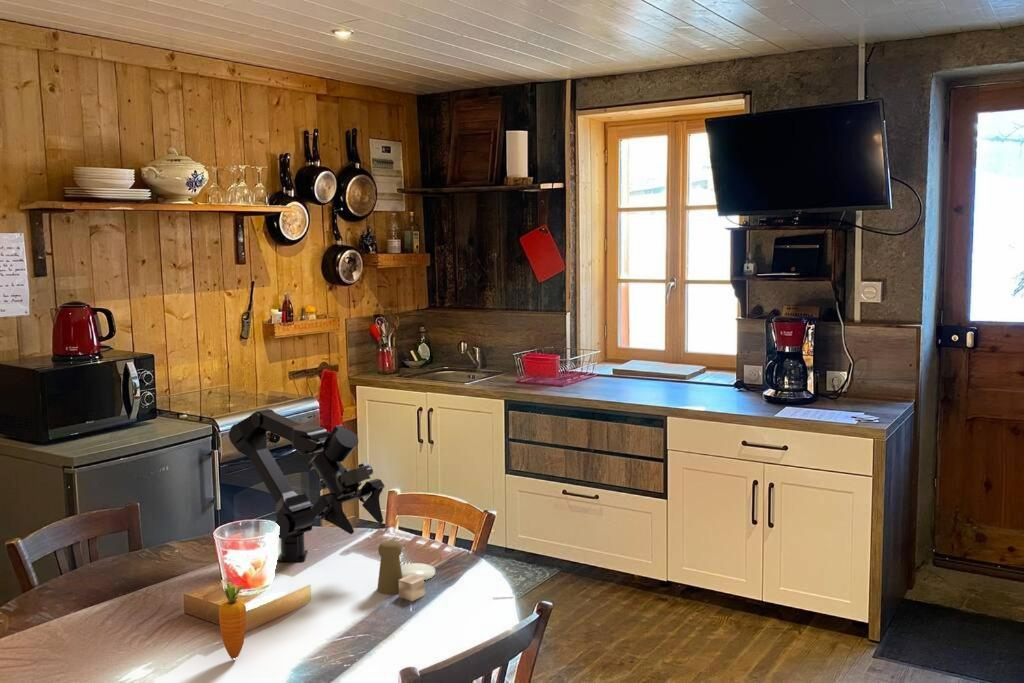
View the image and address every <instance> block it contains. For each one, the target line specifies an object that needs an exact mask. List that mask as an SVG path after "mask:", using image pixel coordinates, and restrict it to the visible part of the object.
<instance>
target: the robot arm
mask: <svg viewBox="0 0 1024 683" xmlns="http://www.w3.org/2000/svg"><path fill="white" fill-rule="evenodd" d="M267 433H272V434H274V435H276V436H278V437H280V438H282V439H285V440H287V441H288V442H290V443H291V446H292V448H293V450H296V451H297V452H298V453H299V454H301V455H302V456H307V455H311V454H315V453H316V454H315V455H314V456H313V457H310V458H309V462H308V464H307V469H308V471H311V470H316V472H317V473H318V474H319V477H320V478H321V480H322V481H323V484H322V486H321V487H322V488H323V490H327V489H328V491H329V492H328V493H324V494H322V495H320V496H319V497H318V498H317V499H316V500H315V501H314V503H313V504H312V502H310V500H309V498H308V496H307V494H306V493H304V492H303V493H299V494H298V493H296V492H295V491H294V490H293V488H292V486H291V485H290V483H289V481H288V479H287V478H286V476H285V475H284V473H283V471H282V470H281V468H280V466H279V465H278V464H277V462H276V460H275V458H274V457H273V455H272V453H271V452H270V450H269V448H268V445H267V444H268V434H267ZM228 439H229V441H230V443H231V444H232V445H233V446H234V448H235V450H236V451H238V452H239V453H240V454H242V455H244V456H247V458H249V460H250V461H251V463H252V465H253V466H254V468H255V469H256V471H257V473H258V474H259V478H261V480H262V482H263V483H264V485H265V486H266V488H267V490H268V492H269V493H270V495H271V497H272V499H273V500H274V502H275V505H276V506H275V517H276V519H277V520H276V521H275V522H274V523H277V524H278V525H279V526H280V535H279V539H280V554H279V556H278V558H277V562H278V563H285V562H305V561H306V558H307V556H308V553H309V551H308V549H305V547H306V546H305V533H306V532H311V531H312V530H313V525H314V522H315V519H316V520H317V519H319V518H320V520H321V521H326V522H329V524H332V525H335V526H336V527H338V529H339V528H340V529H341V530H343V531H344V532H346V533H348V534H350V535H353V534H354V533H355V531H354V528H353V526H352V524H351V522H350V520H349V519H348V517H347V516H346V514H345V512H344V510H343V504H345V503H348V502H351V501H354V500H359V502H362V504H361V505H362V507H363V508H364V509H365V510H366V512H368V514H369V515H370V516H372V518H373V519H374V520H375V521H376V522H377V523H378V524H382V523H383V522H384V518H383V513H382V509H381V505H380V496H381V494H382V493H383V490H384V488H385V484H384V483H383V481H382V479H379V478H374V479H371V475H373V474H374V470H373V467H372V465H371V464H370V463H369V461H364V462H361V463H359V464H358V467H355V468H353V469H352V468H350V467H346V468H345V466H344V465H343V463H342V462H344V461H346V460H347V459H348V458H349V456H350V455H351V453H352V452H353V451H354V450H355V449H356V448H357V446H358V445H359V437H358V435H357V434H356V433H354V432H353V431H351V430H350V429H348V428H344V426H343V424H338V425H335V426H334V427H333V428H332V430H331V432H328V430H327V429H326V428H325V427H323V426H318V425H311V424H310V425H307V424H306V425H305V424H301V423H299V422H297V421H295V420H292V419H289V418H287V417H286V416H283V415H281V414H279V413H277V412H275V411H274V410H273V409H269V408H266V409H261V410H256V411H254V412H252V413H251V414H250V415H249V416H248V417H246V418H244V419H242V420H241V421H239V422H237V423H235V424H233V425H231V427H230V430H229V432H228ZM369 479H371V480H369ZM365 480H368V481H366V482H365V483H364V484H363V483H362V482H363V481H365ZM361 485H362V486H361ZM360 486H361V488H360ZM358 488H360V489H358Z"/></svg>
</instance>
